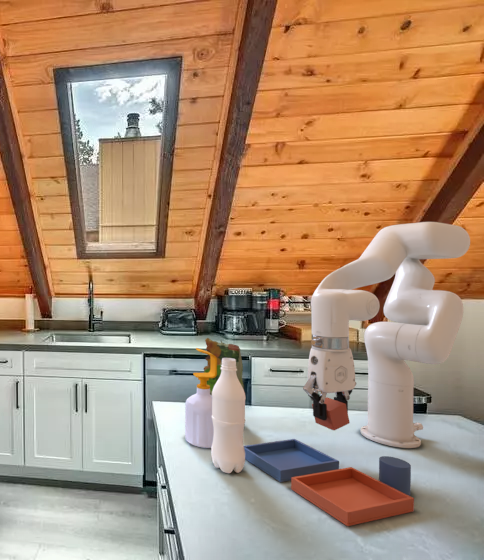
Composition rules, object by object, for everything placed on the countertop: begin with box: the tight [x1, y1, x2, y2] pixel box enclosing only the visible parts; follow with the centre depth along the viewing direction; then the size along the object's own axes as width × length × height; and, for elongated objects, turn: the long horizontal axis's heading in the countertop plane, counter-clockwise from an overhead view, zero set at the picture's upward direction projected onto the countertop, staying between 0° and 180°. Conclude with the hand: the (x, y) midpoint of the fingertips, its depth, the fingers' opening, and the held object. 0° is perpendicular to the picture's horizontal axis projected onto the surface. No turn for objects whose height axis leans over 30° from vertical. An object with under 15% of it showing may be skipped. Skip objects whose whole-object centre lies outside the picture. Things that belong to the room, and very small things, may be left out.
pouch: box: [203, 337, 246, 427], centre depth 114 cm, size 11×12×25 cm
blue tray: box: [244, 438, 340, 483], centre depth 90 cm, size 16×12×2 cm
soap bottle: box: [184, 347, 217, 449], centre depth 102 cm, size 9×9×25 cm
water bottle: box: [210, 358, 247, 474], centre depth 88 cm, size 7×7×25 cm
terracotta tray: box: [290, 466, 415, 527], centre depth 76 cm, size 16×12×2 cm
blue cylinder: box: [378, 455, 412, 497], centre depth 79 cm, size 5×5×6 cm
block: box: [311, 396, 351, 431], centre depth 94 cm, size 5×5×5 cm
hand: (330, 416), depth 93 cm, fingers closed on block, 5 cm apart
